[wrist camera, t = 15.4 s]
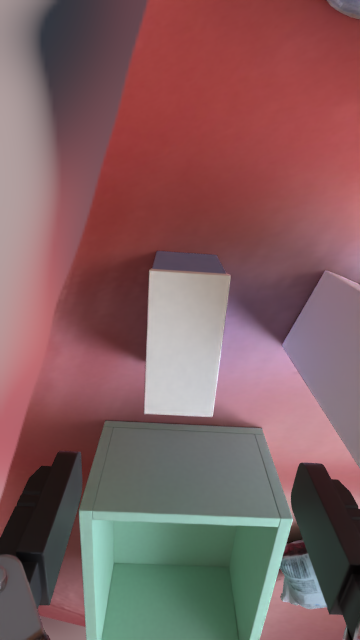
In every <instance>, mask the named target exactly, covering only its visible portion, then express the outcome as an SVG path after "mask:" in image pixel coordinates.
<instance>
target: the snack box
mask: <svg viewBox="0 0 360 640" xmlns="http://www.w3.org/2000/svg"><path fill="white" fill-rule="evenodd" d="M230 279H231V276H230V274H226V272H225V270H224V268H223V266H222V264H221V262H220V261H219V259H218V257H217V255H211V254H196V253H181V252H166V251H157V252H156V256H155V259H154V263H153V267H152V269H150V270H149V287H148V315H147V343H146V370H145V398H144V414H159V415H179V416H199V417H212V416H213V409H214V402H215V394H216V386H217V379H218V371H219V363H220V356H221V348H222V340H223V332H224V325H225V317H226V309H227V302H228V294H229V286H230Z"/></svg>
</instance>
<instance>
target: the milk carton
mask: <svg viewBox="0 0 360 640" xmlns="http://www.w3.org/2000/svg"><path fill="white" fill-rule="evenodd" d="M282 347H283V348H284V350H285V352H286V353H287V355H288V356H289V358H290V359H291V361H292V363H293V364H294V366H295V367H296V369H297V370H298V372H299V374H300V375H301V377H302V378H303V380H304V381H305V383H306V385H307V386H308V388H309V389H310V391H311V392H312V394H313V396H314V397H315V399H316V400H317V402H318V403H319V405H320V407H321V408H322V410H323V411H324V413H325V414H326V416H327V418H328V419H329V421H330V422H331V424H332V425H333V427H334V429H335V430H336V432H337V433H338V435H339V436H340V438H341V440H342V441H343V443H344V444H345V446H346V447H347V449H348V451H349V452H350V454H351V455H352V457H353V458H354V460H355V462H356V463H357V465H358V466H359V468H360V284H358V283H356V282H354V281H351V280H349V279H347V278H344V277H342V276H340V275H337V274H335V273H332V272H330V271H327V270H326V271H325V272H324V273H323V275H322V277H321V279H320V280H319V282H318V284H317V285H316V287H315V289H314V291H313V292H312V294H311V296H310V297H309V299H308V301H307V303H306V304H305V306H304V308H303V310H302V311H301V313H300V315H299V316H298V318H297V320H296V322H295V323H294V325H293V327H292V329H291V330H290V332H289V334H288V335H287V337H286V339H285V341H284V342H283V344H282Z"/></svg>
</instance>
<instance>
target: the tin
mask: <svg viewBox="0 0 360 640" xmlns="http://www.w3.org/2000/svg"><path fill="white" fill-rule="evenodd" d="M326 1H327V2H328V3H329V4H330V6H332V7H333V8H334V9H336V10H337V11H339V12H341V13H342V14H345V15H347V16H349V17H352V18H355V19H360V0H326Z"/></svg>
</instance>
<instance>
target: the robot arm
mask: <svg viewBox="0 0 360 640" xmlns="http://www.w3.org/2000/svg"><path fill="white" fill-rule="evenodd" d="M81 493H82V463H81V453H80V452H74V451H59V452H58V453H57V455H56V457H55V460H54V462H53V464H52V466H41V467H40V468H39V469H38V470H37V471H36V472H35V473H34V474H33V475H32V476H31V477H30V478H29V479H28V482H27V484H26V486H25V488H24V490H23V493H22V494H21V496H20V498H19V500H18V502H17V506H15V508H14V511H13V513H12V515H11V517H10V519H9V521H8V523H7V525H6V527H5V529H4V531H3V533H2V535H1V537H0V640H50V638H49V636H48V635H47V634H46V633H45V630H44V628H43V625H42V622H41V619H40V616H39V613H38V610H37V609H38V606H39V605H50V602H51V598H52V595H53V592H54V588H55V585H56V581H57V578H58V574H59V571H60V568H61V564H62V561H63V557H64V554H65V551H66V547H67V544H68V540H69V537H70V533H71V530H72V527H73V523H74V520H75V516H76V513H77V509H78V506H79V503H80V499H81ZM291 505H292V510H293V513H294V516H295V518H296V521H297V524H298V527H299V530H300V533H301V535H302V538H303V541H304V544H305V547H306V549H307V552H308V555H309V558H310V561H311V564H312V566H313V569H314V572H315V575H316V578H317V580H318V583H319V586H320V589H321V592H322V595H323V597H324V600H325V603H326V606H327V609H328V611H329V614H338V615H343V617H344V620H345V622H346V625H347V626H346V628H345V631H344V635H343V640H360V509H358V505H357V503H356V502H355V500H354V498H353V496H352V494H351V493H350V491H349V490H348V489H347V488H346V487H345V486H344V485H343V484H342V483H341V482H340V481H339V480H333V479H331V478H330V476H329V474H328V472H327V470H326V468H325V467H324V465H323V464H319V463H300V464H299V466H298V470H297V473H296V477H295V481H294V484H293V488H292V492H291Z"/></svg>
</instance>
